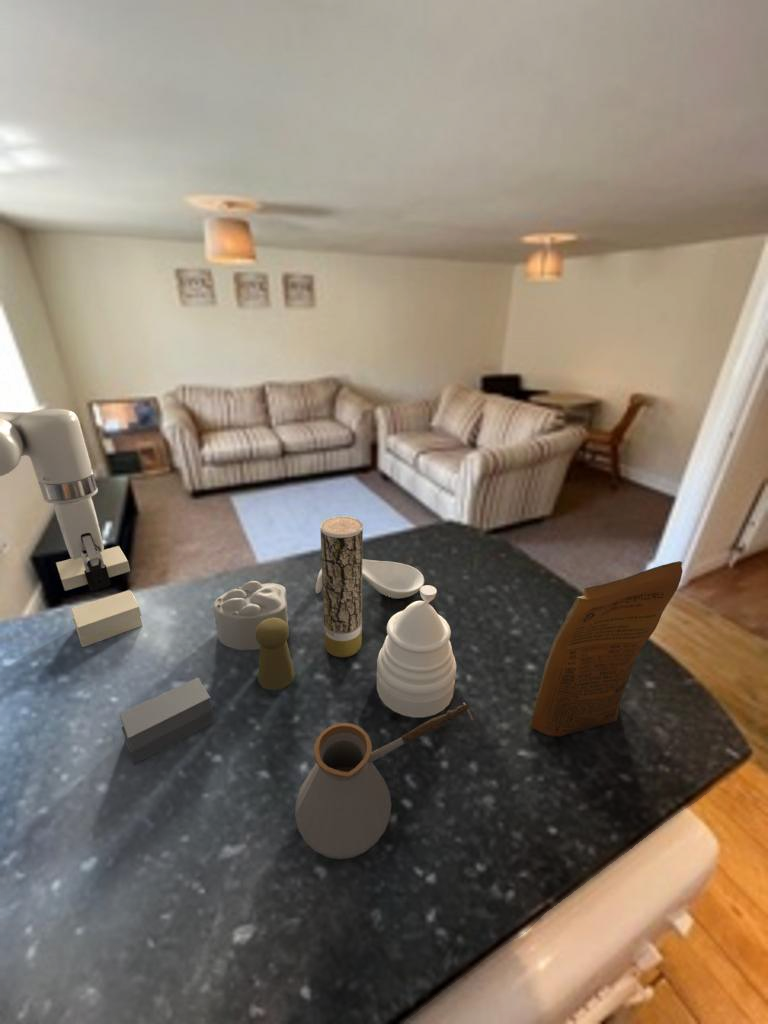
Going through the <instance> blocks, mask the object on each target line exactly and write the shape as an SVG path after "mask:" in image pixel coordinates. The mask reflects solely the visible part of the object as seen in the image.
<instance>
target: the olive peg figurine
mask: <svg viewBox="0 0 768 1024" xmlns="http://www.w3.org/2000/svg"><path fill="white" fill-rule="evenodd" d="M255 633H256V640H257V642H258V643H259V645H260V649H259V657H258V672H257V673H258V675H257V681H258V683H259V685H260V687H262V688H263V689H266V690H269V691H278V690H283V689H285V688H286V687H288V686H289V685H290V684H291V683H292V682H293V681H294V679H295V674H296V673H295V669H294V666H293V661H292V656H291V653H290V649H289V645H288V641H287V640H288V639H289V637H288V635H290V629H289V624H288V625H287V624H286V622H285V621H284V620H282V619H280V618H268V619H265V620H263V621H262V622H261V623H260V624H259V625H258V626H257V629H256V632H255Z"/></svg>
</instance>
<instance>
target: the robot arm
mask: <svg viewBox="0 0 768 1024" xmlns="http://www.w3.org/2000/svg"><path fill="white" fill-rule="evenodd" d="M23 456H27V457H29V459H30V461H31V465H32V467H33V470H34V473H35V477H36V479H37V482H38V485H39V489H40V492H41V495H42V498H43V501H44V502H45V503H47V504H53V509H54V513H55V516H56V520H57V522H58V525H59V529H60V532H61V535H62V538H63V541H64V544H65V547H66V549H67V552H68V554H69V557H70V559H72V558H73V559H76V558H78V557H80V556H81V558H82V560H83V563H84V566H85V569H86V570H85V571H84V573H85V576H86V579H87V582H88V584H87V585H88V588H89V591H90V592H94V591H98V590H100V589H103V588H107V587H110V586H111V585H112V583H111V579H110V578H111V577H109V575H108V571H107V568H106V565H104V562H103V559H102V556H101V553H100V552H102V551H103V550H105V547H104V543H103V537H102V533H101V528H100V524H99V520H98V516H97V512H96V508H95V504H94V501H93V498H92V497H93V496H95V495H96V494H98V493H99V490H98V489H99V488H98V486H97V483H96V478H95V473H94V471H93V467H92V464H91V460H90V457H89V453H88V449H87V445H86V440H85V437H84V434H83V429H82V426H81V423H80V419H79V417H78V415H76V413H75V412H73V411H71V410H70V409H64V408H47V409H46V408H45V409H40V410H33V411H30V412H29V411H28V412H26V411H25V412H24V411H22V412H21V411H19V412H18V411H14V412H13V411H0V477H2V476H5V475H7V474H9V473H11V472H12V471H14V470H15V469H16V468H17V466H19V463H20V461H21V459H22V457H23ZM86 557H88V558H89V561H88V563H87V560H86Z"/></svg>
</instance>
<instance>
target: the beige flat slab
mask: <svg viewBox="0 0 768 1024" xmlns="http://www.w3.org/2000/svg"><path fill="white" fill-rule="evenodd" d="M100 553H101V556H102V559H103V562H104V565H106V568H107V571H108V575H109V578H112V577H113V578H114V577H116V576H120V575H123V574H126V573H130V572H131V569H130V564H129V560H128V559H127V557H126V555H125V554H124V552H123V551H122V549H121V547H120V545H116V546H112V547H109V548H106V549H105V548H104V549H103V551H102V552H100ZM86 560H87V563H88V561H89V558H88V557H86ZM55 565H56V568H57V571H58V574H59V577H60V580H61V584H62V586H63V590H64V591H65V592H66V591H69V590H73V589H76V588H79V587H83V586H86V585H88V582H87V579H86V576H85V573H84V571H85V570H86V569H85V566H84V563H83V560H82V558H81V556H80V557H78V558H76V559H73V558H68V559H66V560H61V561H57V562H55Z"/></svg>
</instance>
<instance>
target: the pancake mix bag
mask: <svg viewBox="0 0 768 1024" xmlns="http://www.w3.org/2000/svg"><path fill="white" fill-rule="evenodd" d="M683 572H684V571H683V561H679V560H678V561H673V562H669V563H666V564H662V565H659V566H655V567H652V568H649V569H645V570H644V571H640V572H638V573H634V574H633V575H630V576H627V577H624V578H620V579H617V580H613V581H609V582H606V583H603V584H597V585H592V586H589V587H584V591H583V595H581V596H580V595H579V596H576V597H575V599H574V601H573V604H572V605H571V607H570V609H569V611H568V613H567V614H566V617H565V619H564V621H563V623H562V624H561V626H560V627H559V629H558V632H557V633H556V635H555V637H554V640H553V642H552V644H551V646H550V650H549V653H548V656H547V659H546V662H545V664H544V669H543V674H542V676H541V677H542V678H541V683H540V686H539V690H538V693H537V696H536V701H535V705H534V712H533V715H532V718H531V721H530V722H529V725H528V727H529V728H531V729H533V730H536V731H537V732H540V733H542V734H543V735H546V736H548V737H549V736H550V737H557V738H558V737H559V738H560V737H563V736H564V737H565V736H568V735H571V734H575V733H579V732H584V731H585V730H586V729H587V730H590V729H593V728H596V727H597V728H598V727H600V725H601V726H606V725H610V724H613V723H612V722H614V723H616V721H617V719H618V717H619V714H620V713H619V712H620V707H621V702H622V699H623V696H624V693H625V690H626V687H627V684H628V681H629V679H630V676H631V674H632V671H633V668H634V665H635V663H636V661H637V658H638V655H639V653H640V651H641V650H642V648H643V647H644V646H645V644H646V643H647V641H648V640H649V639H650V638H651V636H652V635H653V633H654V632H655V630H656V629H657V626H658V625H659V622H660V620H661V617H662V615H663V613H664V611H665V609H666V608H667V606H668V604H669V603H670V601H671V600H672V599H673V597H674V595H675V594H676V592H677V590H678V588H679V585H680V583H681V580H682V576H683ZM609 723H610V724H609ZM605 724H606V725H605Z"/></svg>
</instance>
